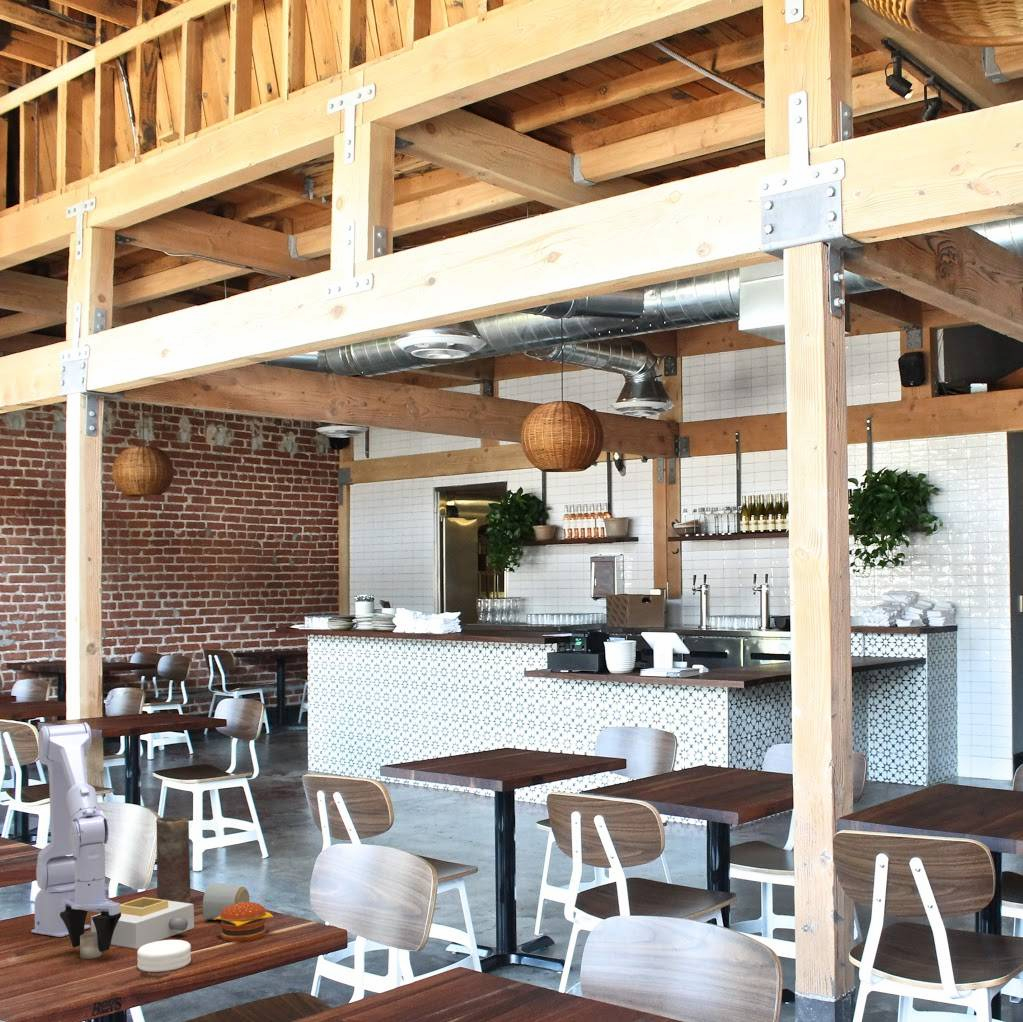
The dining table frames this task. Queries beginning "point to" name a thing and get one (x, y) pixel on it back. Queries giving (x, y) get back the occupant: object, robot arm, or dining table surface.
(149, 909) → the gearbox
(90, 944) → the cylinder
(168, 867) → the brown paper bag
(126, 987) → the dining table surface
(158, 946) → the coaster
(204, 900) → the ceramic mug
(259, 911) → the hamburger
